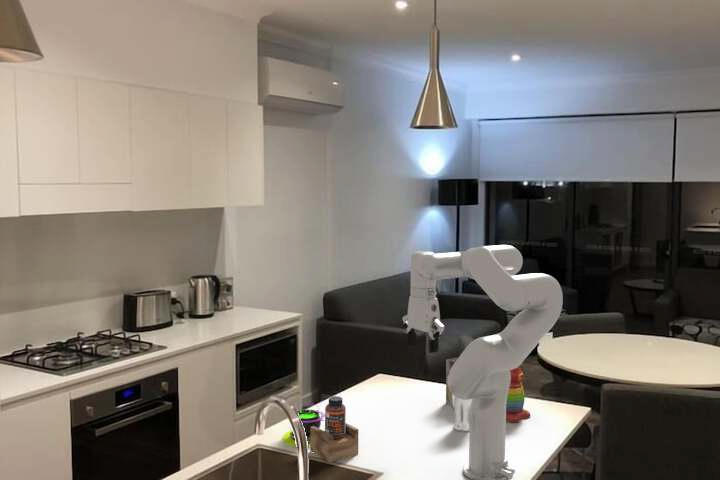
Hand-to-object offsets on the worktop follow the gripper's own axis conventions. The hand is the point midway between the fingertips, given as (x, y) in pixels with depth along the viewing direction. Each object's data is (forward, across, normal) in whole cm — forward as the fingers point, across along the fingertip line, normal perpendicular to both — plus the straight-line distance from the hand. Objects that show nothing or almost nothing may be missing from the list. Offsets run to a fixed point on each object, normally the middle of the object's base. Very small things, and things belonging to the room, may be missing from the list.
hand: (422, 348), depth 200 cm
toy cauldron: (+29, +22, +27) cm, 45 cm away
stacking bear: (+28, -3, -38) cm, 48 cm away
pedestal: (+28, +8, +27) cm, 40 cm away
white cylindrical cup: (+28, -1, -17) cm, 33 cm away
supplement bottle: (+24, +8, +27) cm, 37 cm away
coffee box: (+28, +15, -32) cm, 45 cm away
